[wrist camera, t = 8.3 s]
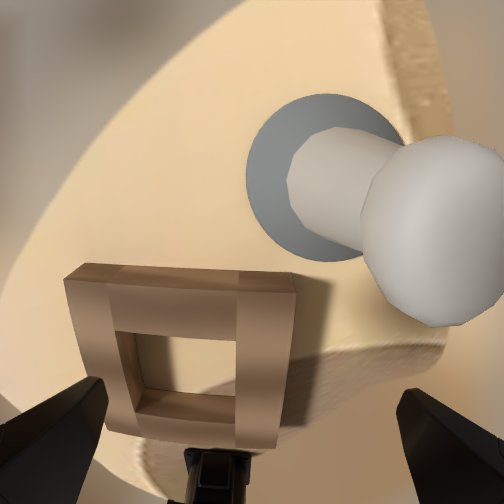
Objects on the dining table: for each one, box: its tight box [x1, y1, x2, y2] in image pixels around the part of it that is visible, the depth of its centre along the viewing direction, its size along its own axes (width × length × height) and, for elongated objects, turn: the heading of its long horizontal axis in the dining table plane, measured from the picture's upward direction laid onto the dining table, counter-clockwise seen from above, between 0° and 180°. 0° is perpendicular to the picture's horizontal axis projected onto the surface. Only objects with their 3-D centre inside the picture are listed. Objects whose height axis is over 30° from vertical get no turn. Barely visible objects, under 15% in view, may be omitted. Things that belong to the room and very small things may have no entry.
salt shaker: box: [286, 127, 504, 327], centre depth 11 cm, size 6×6×13 cm
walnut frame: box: [63, 263, 297, 449], centre depth 20 cm, size 14×14×3 cm
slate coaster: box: [246, 94, 403, 262], centre depth 17 cm, size 10×10×1 cm
